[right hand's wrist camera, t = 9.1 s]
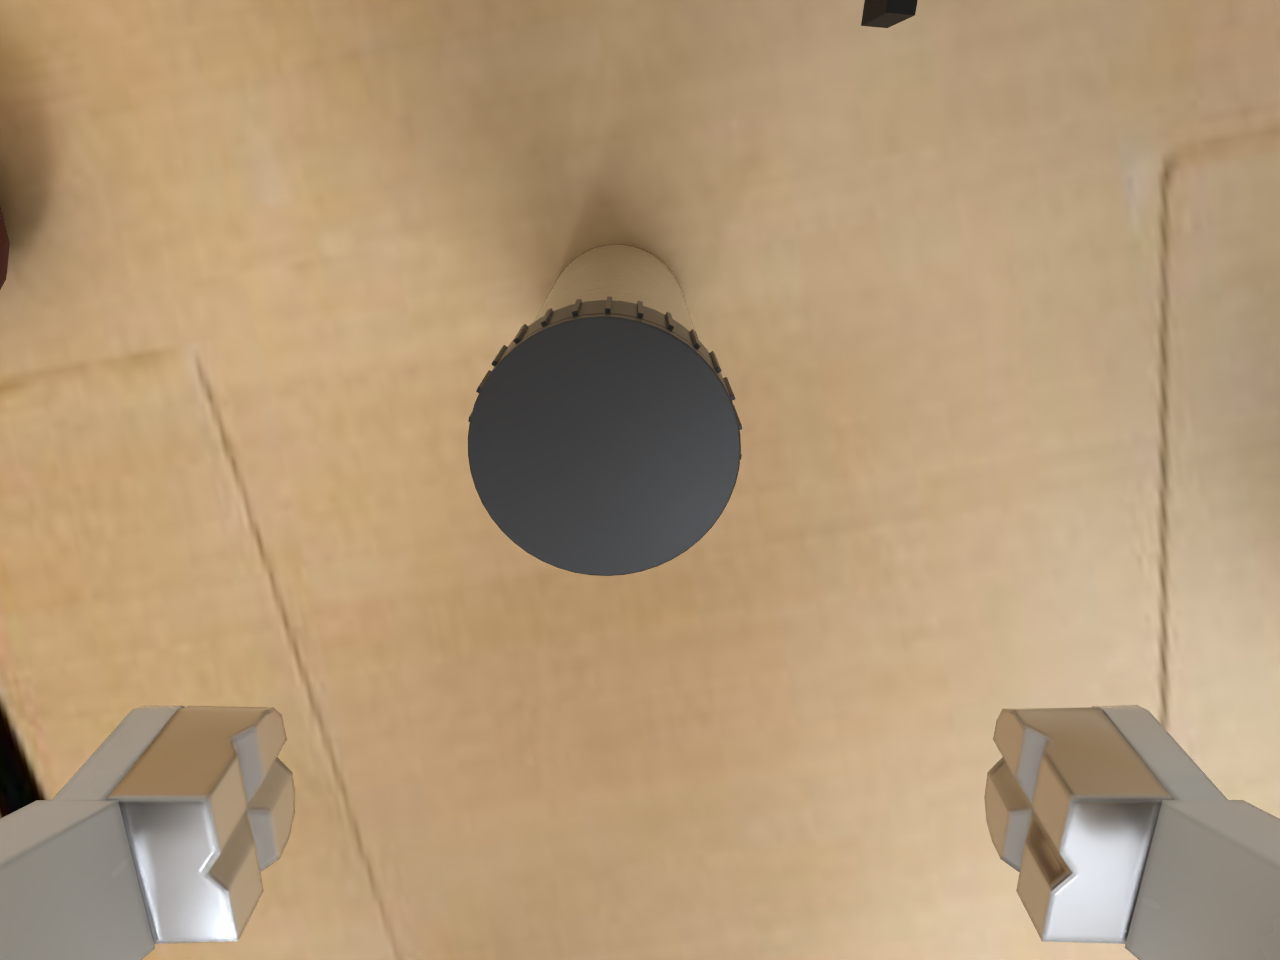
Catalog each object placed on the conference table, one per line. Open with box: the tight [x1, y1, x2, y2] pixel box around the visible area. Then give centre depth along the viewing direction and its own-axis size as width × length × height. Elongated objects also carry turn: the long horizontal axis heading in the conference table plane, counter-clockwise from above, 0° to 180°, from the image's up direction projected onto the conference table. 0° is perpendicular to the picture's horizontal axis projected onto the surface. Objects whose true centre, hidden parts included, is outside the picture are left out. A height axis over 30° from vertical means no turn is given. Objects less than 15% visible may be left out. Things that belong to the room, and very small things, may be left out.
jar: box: [533, 245, 695, 331], centre depth 26 cm, size 5×5×16 cm
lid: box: [468, 297, 742, 576], centre depth 19 cm, size 6×6×2 cm
